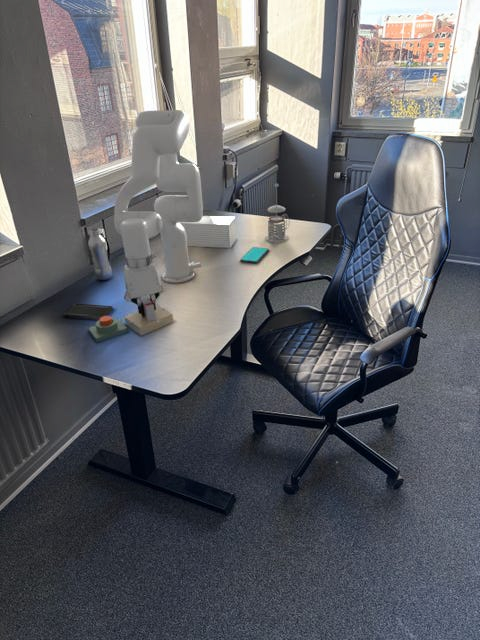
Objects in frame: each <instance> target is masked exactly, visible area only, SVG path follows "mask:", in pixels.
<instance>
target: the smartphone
mask: <svg viewBox="0 0 480 640" xmlns="http://www.w3.org/2000/svg"><path fill="white" fill-rule="evenodd" d="M269 250H270V249H269V247H268V248H266V247H257V246H256V247H255V246H253V247H251V248H250V249H249V251H247V252H246V253H245V255H243V256H242V257H241V258H240V262H241V263H242V262H243V263H250V264H258V263H259V262H260V261H261V260H262V258H264V257H265V255H267V253H269Z"/></svg>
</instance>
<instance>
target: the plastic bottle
mask: <svg viewBox="0 0 480 640" xmlns="http://www.w3.org/2000/svg"><path fill="white" fill-rule="evenodd" d="M88 232H89V236H90V237H89V239H88V241H87V245H88V248H89V251H90V253H91V256H92V260H93V267H94V275H95V278H96V279H97V280H101V281H105V280H109V279H111V278H112V276H113V270H112V267H111V264H110V261H109V258H108V251H107V241H106V239H105V238H104V237H103V236H102V235H101V230H100V228H99V227H94V228H90V229H89V230H88Z"/></svg>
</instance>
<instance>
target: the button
mask: <svg viewBox="0 0 480 640" xmlns="http://www.w3.org/2000/svg"><path fill="white" fill-rule="evenodd" d="M111 317H112V316H110V315H108V316H103V317H101V318H100V324H101V326H107V325H110V324H112V318H113V317H112V318H111Z"/></svg>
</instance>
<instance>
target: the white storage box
mask: <svg viewBox="0 0 480 640" xmlns="http://www.w3.org/2000/svg"><path fill="white" fill-rule="evenodd" d="M180 223H181V225H182V226H183V227H184V229H185V231H186V237H187V246H188V247H202V248H220V249H221V248H222V249H231V248H232V246H233V245H234V244H235V242H236V241H237V227H236V216H219V215H218V216H215V215H214V216H213V215H203V216H202V218H201V220H200V221H198V222H180Z"/></svg>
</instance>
